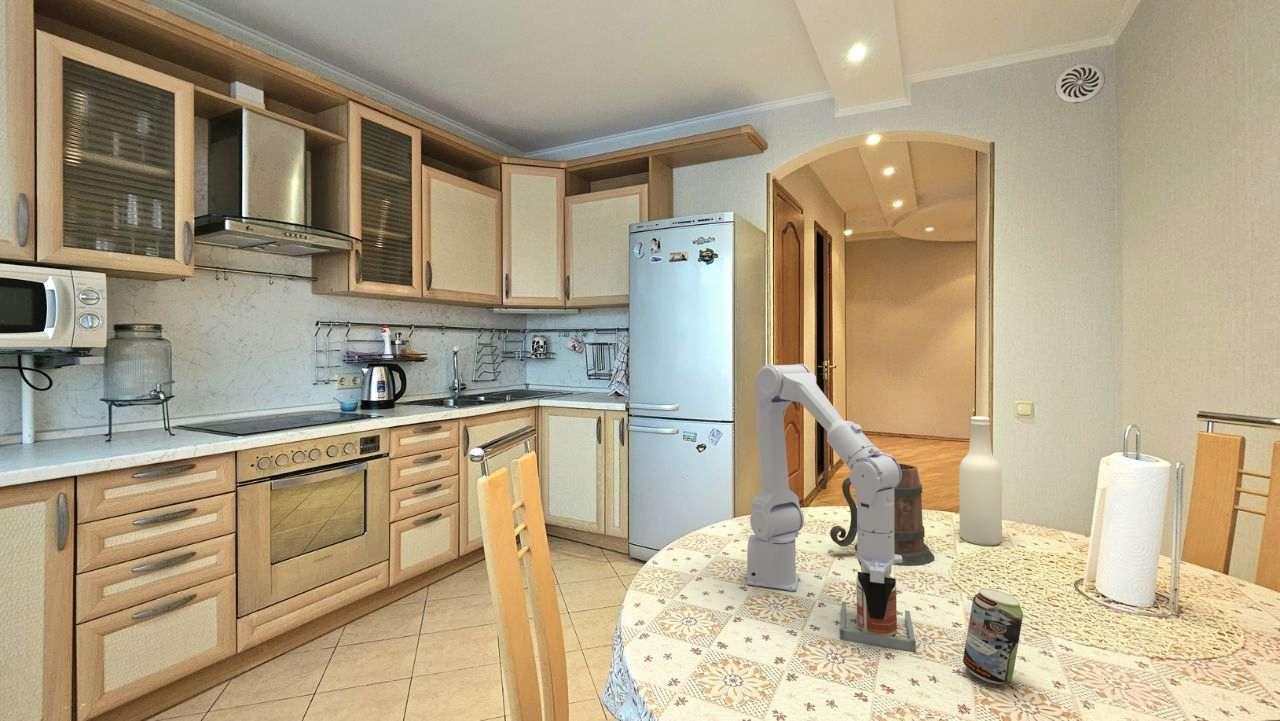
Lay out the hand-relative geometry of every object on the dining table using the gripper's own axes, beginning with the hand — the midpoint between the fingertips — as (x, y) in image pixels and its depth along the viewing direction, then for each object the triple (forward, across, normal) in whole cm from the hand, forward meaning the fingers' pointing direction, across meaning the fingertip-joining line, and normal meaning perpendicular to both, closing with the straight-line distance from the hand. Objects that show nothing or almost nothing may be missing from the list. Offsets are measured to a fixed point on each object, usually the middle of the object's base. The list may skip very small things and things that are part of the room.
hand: (875, 608), depth 93 cm
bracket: (+3, 0, 0) cm, 3 cm away
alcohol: (+4, +55, -25) cm, 61 cm away
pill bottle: (+4, 0, 0) cm, 4 cm away
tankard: (+4, +38, -2) cm, 38 cm away
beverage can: (+4, -9, -15) cm, 18 cm away
